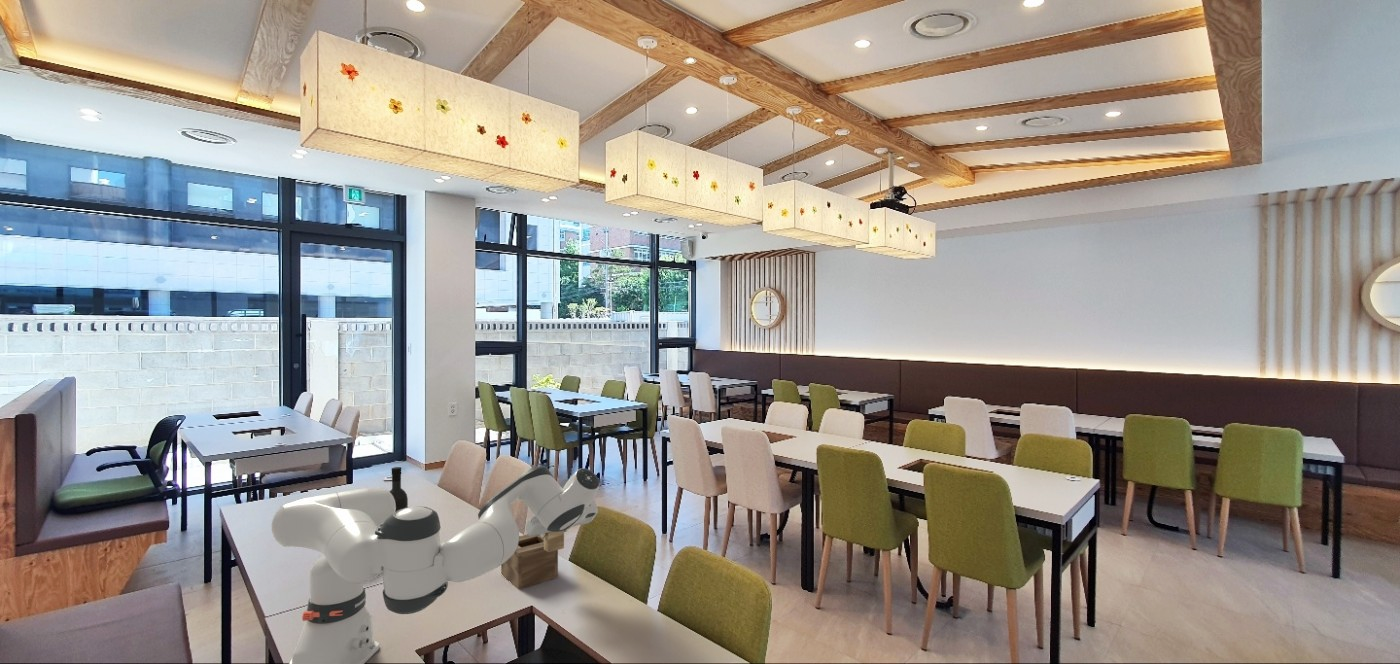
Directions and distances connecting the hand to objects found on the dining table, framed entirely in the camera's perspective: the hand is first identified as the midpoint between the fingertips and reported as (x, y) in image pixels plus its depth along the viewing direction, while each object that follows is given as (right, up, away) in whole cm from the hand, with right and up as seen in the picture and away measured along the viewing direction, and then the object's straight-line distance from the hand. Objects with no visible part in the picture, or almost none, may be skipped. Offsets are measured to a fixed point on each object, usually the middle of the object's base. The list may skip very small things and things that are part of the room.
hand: (552, 532), depth 179 cm
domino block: (0, -5, 0) cm, 5 cm away
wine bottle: (-60, -17, +28) cm, 69 cm away
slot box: (-10, -18, +11) cm, 23 cm away
